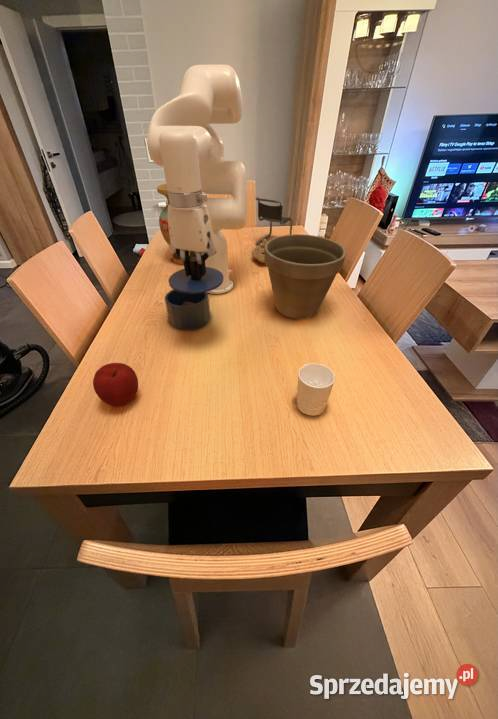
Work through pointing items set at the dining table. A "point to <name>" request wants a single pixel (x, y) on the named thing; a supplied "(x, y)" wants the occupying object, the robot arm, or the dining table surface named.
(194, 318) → the tin
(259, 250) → the oil lamp
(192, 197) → the robot arm
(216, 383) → the dining table surface
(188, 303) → the block
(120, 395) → the apple
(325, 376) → the white cup
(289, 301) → the plant pot
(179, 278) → the lid
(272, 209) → the chair
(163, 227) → the vase
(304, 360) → the dining table surface
